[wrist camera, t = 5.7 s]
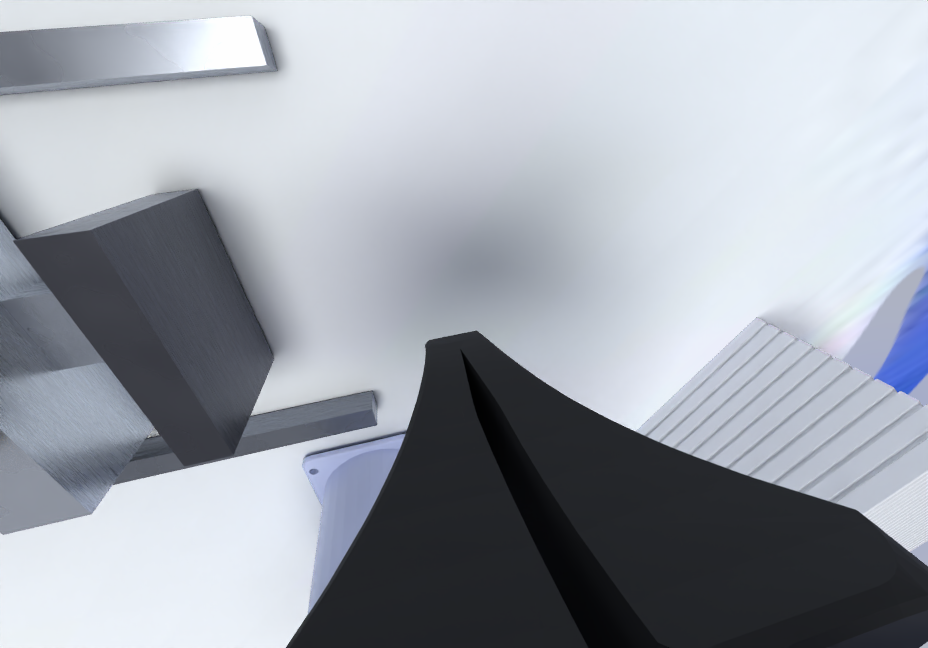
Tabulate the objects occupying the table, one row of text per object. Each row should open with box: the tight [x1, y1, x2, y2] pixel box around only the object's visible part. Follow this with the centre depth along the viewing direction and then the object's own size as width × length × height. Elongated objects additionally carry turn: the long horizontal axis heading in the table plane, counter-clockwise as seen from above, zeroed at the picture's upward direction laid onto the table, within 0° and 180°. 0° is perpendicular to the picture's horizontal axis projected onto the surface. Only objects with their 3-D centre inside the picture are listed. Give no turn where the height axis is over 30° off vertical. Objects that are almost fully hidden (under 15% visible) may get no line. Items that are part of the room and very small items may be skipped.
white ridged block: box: [636, 317, 928, 552], centre depth 27 cm, size 32×11×11 cm, turn 144°
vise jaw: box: [0, 189, 274, 535], centre depth 12 cm, size 13×10×6 cm
